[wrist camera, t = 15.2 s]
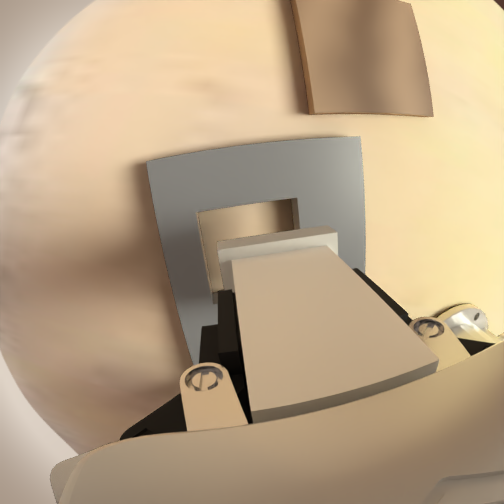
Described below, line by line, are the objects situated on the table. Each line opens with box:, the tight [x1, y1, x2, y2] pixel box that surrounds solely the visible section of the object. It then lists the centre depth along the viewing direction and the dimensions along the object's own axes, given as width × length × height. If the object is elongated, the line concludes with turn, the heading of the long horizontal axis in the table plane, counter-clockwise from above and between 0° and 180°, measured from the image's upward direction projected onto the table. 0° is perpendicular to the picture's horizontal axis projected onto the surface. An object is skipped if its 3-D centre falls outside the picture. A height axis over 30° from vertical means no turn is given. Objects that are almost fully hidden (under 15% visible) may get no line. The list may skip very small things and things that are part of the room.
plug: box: [217, 225, 439, 423], centre depth 9 cm, size 5×5×10 cm
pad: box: [290, 0, 434, 117], centre depth 15 cm, size 9×9×1 cm
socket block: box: [146, 136, 366, 366], centre depth 14 cm, size 12×25×15 cm, turn 7°
